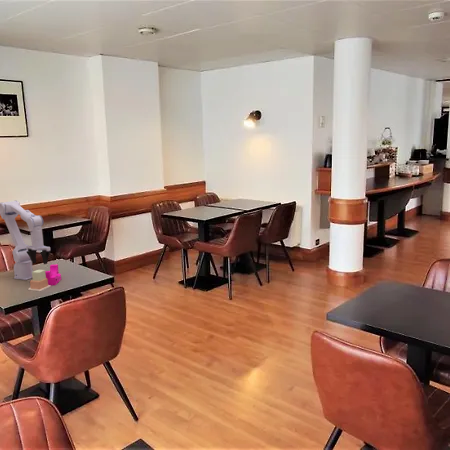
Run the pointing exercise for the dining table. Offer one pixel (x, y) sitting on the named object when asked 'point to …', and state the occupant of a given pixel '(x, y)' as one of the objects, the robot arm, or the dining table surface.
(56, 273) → the toy block
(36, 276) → the sage brick
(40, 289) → the baseplate
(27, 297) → the dining table surface
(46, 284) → the terracotta brick
